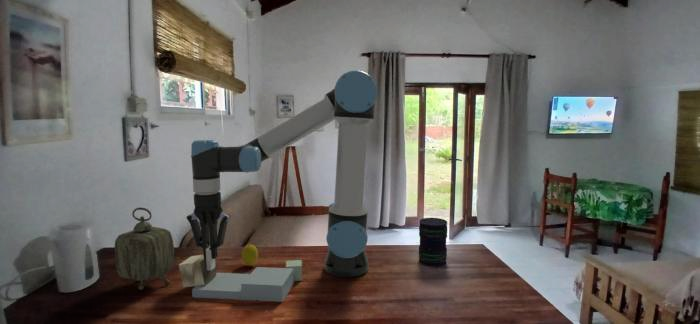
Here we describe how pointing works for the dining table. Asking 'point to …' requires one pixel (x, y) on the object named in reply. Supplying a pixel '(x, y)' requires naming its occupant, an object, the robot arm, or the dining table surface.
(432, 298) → the dining table surface
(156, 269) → the tabletop clock
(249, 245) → the lemon
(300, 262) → the sage cube
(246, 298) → the stair
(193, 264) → the birch cube
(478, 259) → the dining table surface
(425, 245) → the storage jar
